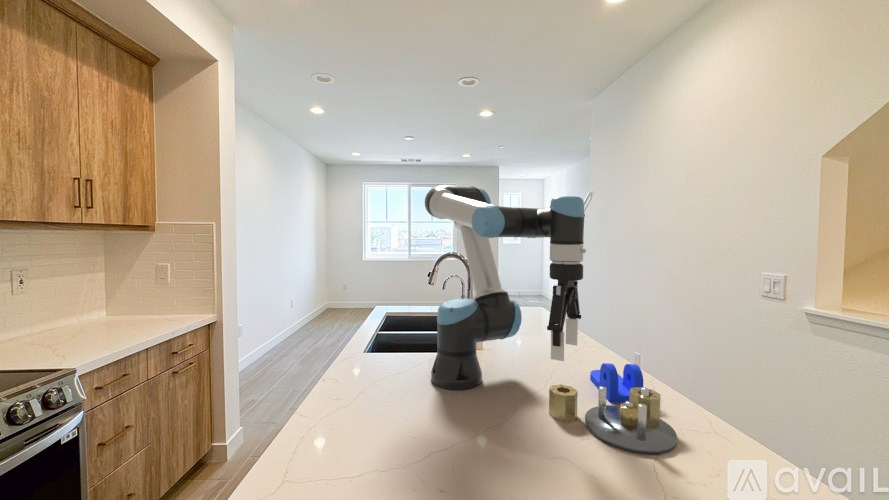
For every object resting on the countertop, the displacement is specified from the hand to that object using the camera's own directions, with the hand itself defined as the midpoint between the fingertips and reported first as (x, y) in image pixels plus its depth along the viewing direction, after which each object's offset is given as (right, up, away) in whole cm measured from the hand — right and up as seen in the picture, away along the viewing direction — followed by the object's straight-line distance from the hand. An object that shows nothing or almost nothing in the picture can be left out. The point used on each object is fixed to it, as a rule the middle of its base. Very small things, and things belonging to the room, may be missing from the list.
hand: (564, 351), depth 85 cm
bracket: (+19, -15, +16) cm, 29 cm away
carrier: (+12, -16, -6) cm, 21 cm away
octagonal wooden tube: (0, -15, +1) cm, 15 cm away
